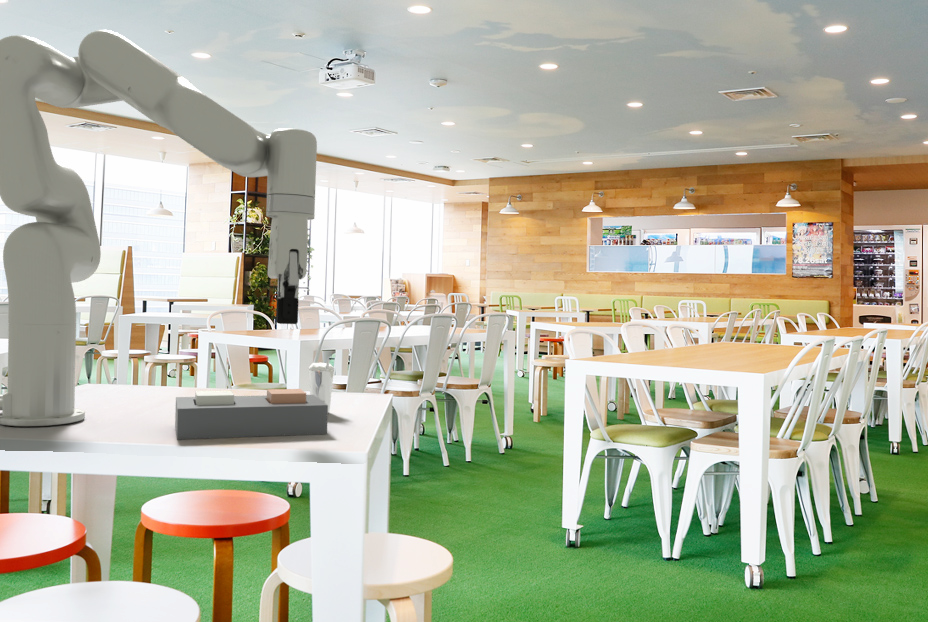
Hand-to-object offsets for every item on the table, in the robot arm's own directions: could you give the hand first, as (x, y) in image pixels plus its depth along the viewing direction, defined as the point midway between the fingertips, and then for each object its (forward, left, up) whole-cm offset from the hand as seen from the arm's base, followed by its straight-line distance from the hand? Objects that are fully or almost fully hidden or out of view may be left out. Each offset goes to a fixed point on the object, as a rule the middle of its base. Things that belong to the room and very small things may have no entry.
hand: (286, 323), depth 126 cm
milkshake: (+9, +14, -17) cm, 24 cm away
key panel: (-5, 0, -17) cm, 18 cm away
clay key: (0, 0, -15) cm, 15 cm away
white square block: (-11, 0, -15) cm, 19 cm away
